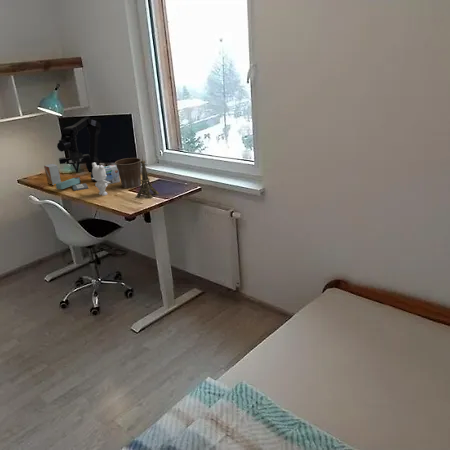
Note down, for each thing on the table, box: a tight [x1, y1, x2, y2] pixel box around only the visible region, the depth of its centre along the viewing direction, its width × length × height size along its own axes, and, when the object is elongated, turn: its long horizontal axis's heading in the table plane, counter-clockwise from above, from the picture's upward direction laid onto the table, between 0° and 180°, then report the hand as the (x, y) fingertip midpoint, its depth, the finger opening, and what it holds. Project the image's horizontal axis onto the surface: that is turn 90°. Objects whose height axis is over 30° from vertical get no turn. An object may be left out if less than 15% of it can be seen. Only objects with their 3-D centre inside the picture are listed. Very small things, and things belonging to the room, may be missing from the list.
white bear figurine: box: [90, 162, 111, 196], centre depth 278 cm, size 8×20×19 cm, turn 47°
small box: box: [43, 163, 62, 186], centre depth 309 cm, size 8×6×13 cm
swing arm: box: [55, 176, 82, 190], centre depth 300 cm, size 5×17×3 cm, turn 149°
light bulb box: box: [104, 164, 121, 186], centre depth 304 cm, size 11×7×11 cm, turn 130°
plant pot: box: [114, 157, 142, 189], centre depth 293 cm, size 16×16×16 cm
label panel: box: [71, 182, 90, 192], centre depth 299 cm, size 9×11×1 cm
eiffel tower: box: [134, 155, 160, 199], centre depth 270 cm, size 11×11×25 cm
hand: (77, 172), depth 293 cm, fingers closed
